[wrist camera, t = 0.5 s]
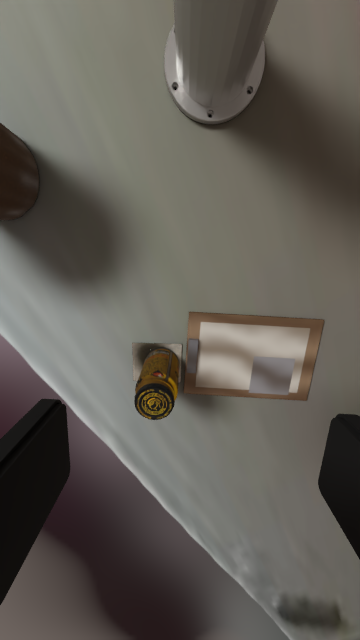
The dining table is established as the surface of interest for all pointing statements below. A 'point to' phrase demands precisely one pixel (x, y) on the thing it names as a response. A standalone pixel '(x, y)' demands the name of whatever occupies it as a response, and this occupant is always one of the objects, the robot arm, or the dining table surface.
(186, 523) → the dining table surface
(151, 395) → the condiment
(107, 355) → the dining table surface
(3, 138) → the plant pot
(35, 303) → the dining table surface
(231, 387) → the clipboard
